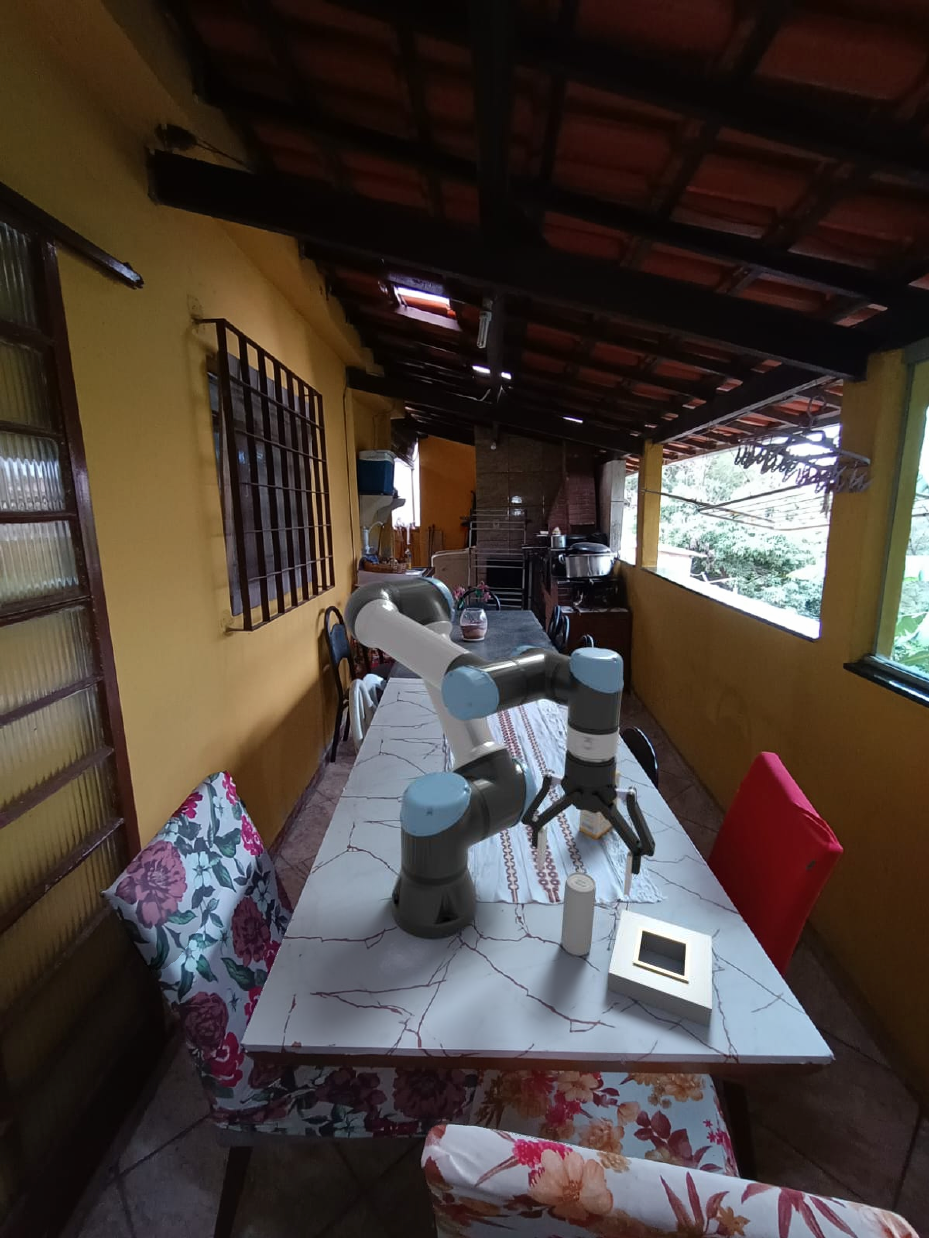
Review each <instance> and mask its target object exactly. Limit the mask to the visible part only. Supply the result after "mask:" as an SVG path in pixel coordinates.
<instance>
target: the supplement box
mask: <svg viewBox="0 0 929 1238" xmlns="http://www.w3.org/2000/svg"><path fill="white" fill-rule="evenodd" d="M620 774H621V772H620V771H619V770H616V777H615V783H616V786H617V788H620V787H619V786H620V776H621V775H620ZM618 800H619V797H616V799H615V800H613V802H614V803H615V804H616V807H617V808H618V802H619V801H618ZM579 811H580V812H579V826H578V830H579V831H580V832H583V833H584V834H586V835H588V836H590V837H593V838H594V839H599V838H600V837H602V835H604V834H605V833H606V832H607V831H609V830H610V829H611V828H613V826H612V825H611V824H610V822H609V821H608V820H606V819H605V818H604V816H603V815H602V814H601V812H597V814H596V813H591V812H589V811H587V810H579Z"/></svg>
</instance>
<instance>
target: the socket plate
mask: <svg viewBox="0 0 929 1238" xmlns="http://www.w3.org/2000/svg"><path fill="white" fill-rule="evenodd" d="M616 931H617V932H616V937H615V941H614V946H613V950H612V955H611V960H610V963H609V968H608V974H607V976H608V977H607V986H606V990H609V991H611V992H614V993H617V994H619V995H622V996H624V997H627V998H630V999H633V1000H637V1001H639V1002H641V1003H644V1004H645V1005H649V1006H652V1007H655V1008H658V1009H661V1010H662V1011H665V1012H668V1013H671V1014H673V1015H676V1016H678V1017H679V1016H680V1017H682V1018H684V1019H688V1020H690V1021H693V1022H695V1023H698V1024H701V1025H703V1026H706V1027H709V1028H710V1027H711V1019H712V1012H713V960H712V959H713V957H712V956H713V950H712V949H713V947H712V946H713V945H712V941H713V940H712V939H713V938H712V937H713V936H712V935H708V934H705V933H702V932H698V931H695V930H692V929H688V928H686V927H682V926H679V925H675V924H672V923H669V922H666V921H664V920H659V919H657V918H656V919H655V918H653V917H650V916H646V915H643V914H639V913H637V912H633V911H630V910H628V909H627V910H626V909H623V908H622V909H621V912H620V918H619V922H618V927H617V930H616ZM641 948H642V949H645V950H648V951H650V952H651V951H652V952H655V953H658V954H661V955H664V956H667V957H669V958H672V959H676V960H678V961H682V962H683V970H682V971H683V973H682V974H683V975H681V974H678V973H676V972H672V971H670V970H667V969H664V968H661V967H658V966H655V965H652V964H648V963H646V962H643V961H640V959H639V958H640V955H641Z"/></svg>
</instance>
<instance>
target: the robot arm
mask: <svg viewBox="0 0 929 1238" xmlns="http://www.w3.org/2000/svg"><path fill="white" fill-rule="evenodd" d="M451 593H452V592H451V591H450V589H449V588H448V587H447V586H446V584H444V583H443V582H442V581H441V580H439V579H437V578H434V577H423V576H416V577H412V578H403V579H392V580H377V581H371V582H367V583H365V584H363V585H360V586H359V587H358V588H356V589H355V590H354V591H353V592H352V593H351V594H350V596H349V597H348V599H347V602H346V604H345V607H344V612H343V616H344V617H343V619H344V624H345V626H346V629H347V630H348V632H349V634H350V635H351V636H352V637H353V638H354V639H355V640H356V641H357V642H358V643H360V644H361V645H363V646H365V647H367V648H372V649H379V650H381V651H383V652H384V653H385V654H387V656H390V657H391V658H392V659H394V660H395V661H396V662H398V663H400V664H401V665H403V666H404V667H406V668H407V669H409V670H411V671H412V672H413V673H415V674H416V675H418V676H419V677H421V679H422V682H423V685H424V687H425V690H426V692H427V694H428V697H429V700H430V701H431V704H432V707H433V709H434V712H435V714H436V716H437V719H438V722H439V724H440V726H441V728H442V731H443V734H444V737H445V739H446V741H447V744H448V747H449V749H450V752H451V753H452V756H453V759H454V762H453V765H452V768H451V770H450V771H442V772H441V773H439V772H438V771H433V772H430V773H426V774H423V775H421V776H418V777H417V778H415V779H414V780H413V781H411V782H410V783H409V784H408V786H407V787H406V789H405V790H404V791H403V794H402V797H401V806H400V812H399V821H400V851H401V853H400V856H401V857H400V861H401V863H400V869H399V872H398V875H397V878H396V880H395V883H394V886H393V888H392V892H391V900H390V901H391V914H392V918H393V919H394V921H395V923H396V924H397V925H398V926H399V928H401V929H402V930H403V931H405V932H407V933H409V934H410V935H413V936H416V937H419V938H422V939H423V938H424V939H441V938H442V939H443V938H446V937H450V936H453V935H455V934H457V933H459V932H461V931H463V930H464V929H466V927H468V925H469V924H471V922H472V920H474V917H475V915H476V912H477V890H476V888H475V885H474V881H473V878H472V875H471V872H470V869H469V867H468V866H469V864H468V861H469V860H468V859H469V849H470V847H472V846H474V845H476V844H479V843H480V842H482V841H485V840H487V839H489V838H491V837H493V836H495V835H497V834H499V833H501V832H504V831H505V830H508V829H512V828H513V827H516V826H517V825H518V824H519V823H522V824H523V825H524V826H526V825H528V826H529V827H530V828H531V829H532V830H531V845H532V847H533V848H535V849H536V850H537V851H536V852H537V853H536V854H537V855H536V870H539V871H542V869H543V867H544V865H545V863H546V862H547V861H546V860H547V844H548V843H547V841H548V840H547V839H548V824H549V822H551V821H552V820H553V819H555V818H556V817H557V816H558V815H560V814H561V813H562V812H563V811H566V810H567V809H568V808H569V807H571V806H573V807H574V808H575V809H576V810H579V811H580V810H587V811H589V812H591V813H596V814H597V812H601V814H602V815H603V816H604V818H605V819H606V820H608V821H609V822H610V824H611V825H612V828H613V829H614V831H615V832H616V834H618V836H619V838H620V839H621V840H622V842H623V843H624V845H625V846H626V847H627V849H628V850H627V854H626V863H625V874H624V886H623V887H624V888H623V895H624V896H625V895H626V896H630V891H631V886H632V879H633V875H636V876H639V874H640V872H641V871H640V870H641V866H642V857H643V856H647V857H653V856H654V855H655V852H656V851H655V850H656V849H655V848H656V842H655V839H654V837H653V835H652V832H651V830H650V828H649V826H648V823H647V821H646V819H645V816H644V814H643V812H642V809H641V807H640V805H639V802H638V795H637V794H638V793H637V792H638V791H637V788H636V787H635V786H631V785H630V786H629V787H628V788H621V787H619V788H617V786H616V783H615V777H616V771H617V761H618V758H617V753H618V747H619V738H620V736H619V735H620V715H621V713H620V712H621V702H622V694H623V689H624V683H625V682H624V679H623V678H624V660H623V658H622V656H621V655H620V654H619V653H617V652H616V651H614V650H612V649H607V648H598V647H581V648H577V649H575V650H574V651H573V652H572V653H571V656H569V655H565V654H563V653H559V652H556V651H552V650H548V649H547V648H543V647H542V646H531V645H522V646H521V645H520V646H518V648H516V650H515V651H513V652H511V653H510V655H509V657H503V658H501V659H495V660H487V659H484V658H482V657H480V656H479V655H476V654H475V653H473V652H471V651H470V650H468V649H465V648H464V647H462V646H460V645H459V644H456V643H455V642H453V641H452V640H451V637H450V634H451V632H452V631H453V626H454V625H453V624H452V623H453V621H454V619H455V614H456V610H455V609H454V607H455V601H454V598H453V595H452V594H451ZM541 700H547V701H550V702H552V703H554V704H555V703H556V704H557V705H560V706H563V707H567V720H566V721H567V723H566V737H565V738H566V739H565V746H566V750H565V754H564V755H565V757H564V773H563V774H564V775H563V776H562V775H559V774H556V771H554V770H553V769H550V768H549V769H548V770H547V771H546V773H545V775H544V776H543V778H542V784H541V787H540V789H539V790H538V793H537V783H536V779H535V777H534V775H533V773H532V770H531V769H530V767H529V766H528V765H527V763H526V762H523V760H522V759H520V758H518V757H514V756H511V755H510V752H509V751H508V748H507V746H504V745H503V744H500V743H498V742H496V740H495V737H494V736H493V733H492V731H491V729H490V727H489V724H488V722H487V719H486V718H487V717H489V716H491V715H494V714H497V713H501V712H503V711H504V712H505V711H507V710H510V709H513V708H516V707H519V706H523V705H524V706H525V705H527V704H531V703H535V702H538V701H541ZM557 785H558V786H560V787H561V789H562V791H563V792H564V793H563V794H562V796H561V797H560V798H558V799H557V800H556V801H554V802H553V803H552V804H551V805H550V806H549V807H547V808H546V809H545V810H543V811H542V812H541V813H540V814H538V815H537V816H536V815H535V813H536V812H537V811H538V809H539V807H540V806H541V804H542V803H543V802H544V800H545V798H546V797H547V796H548V794H549V792H550V791H551V790H552V789H555V788H556V787H557ZM616 797H618V799H620V800H621V803H622V804H623V805H624V806H626V811H627V813H628V816H629V819H630V820H631V823H632V825H633V827H634V830H635V831H634V830H633V829H632V827H631V826H630V824H629V823H628V822H627V820H626V819H625V817H624V816H623V815H622V814H621V812H620V810H619V809H618V806H617V807H616V804H615V803H614V802H613V800H615V799H616ZM635 832H636V833H635ZM636 834H637V835H636Z"/></svg>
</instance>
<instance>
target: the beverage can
mask: <svg viewBox="0 0 929 1238" xmlns="http://www.w3.org/2000/svg"><path fill="white" fill-rule="evenodd" d="M596 891H597V887H596V881H595V879H594V878H593V876H591V875H589V874H588V873H587V874H586V873H584V872H577V871H576V872H572V873H569V874H568V875H567V876H566V879H565V881H564V896H563V909H562V910H563V911H562V925H561V938H560V939H561V940H560V941H561V945H562V947H563V949H564V950H565V951H566V952H567V953H569V954H570V955H572V956H576V957H581V956H584V955H586V954H588V953H589V952H590V950H591V948H592V939H593V938H592V937H593V928H594V927H593V926H594V916H595V913H594V912H595V906H596V905H595V904H596V903H595V902H596V895H597V894H596Z"/></svg>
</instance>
